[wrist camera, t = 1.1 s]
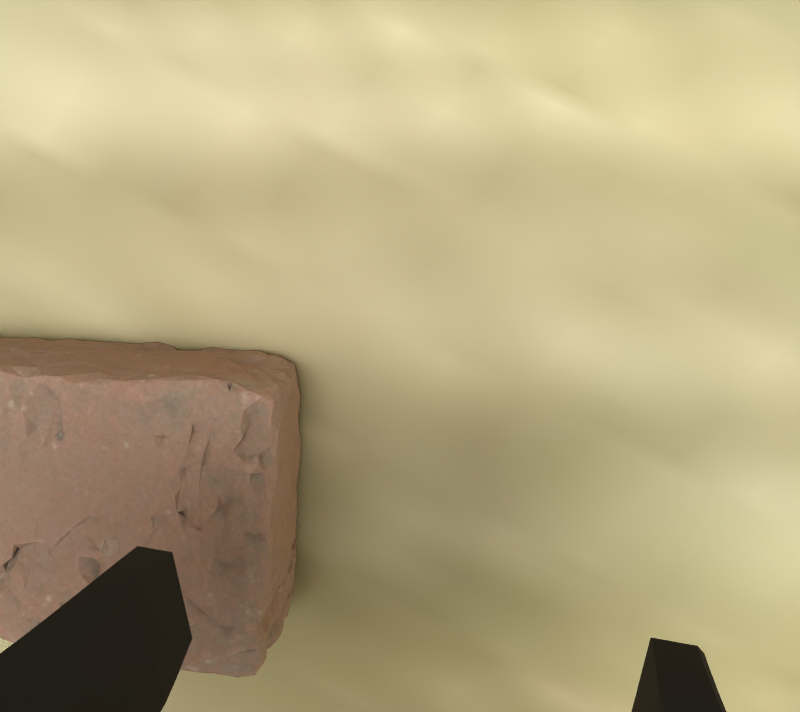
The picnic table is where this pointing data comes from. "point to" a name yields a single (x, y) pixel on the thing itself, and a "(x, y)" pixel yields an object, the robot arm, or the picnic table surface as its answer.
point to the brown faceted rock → (151, 483)
